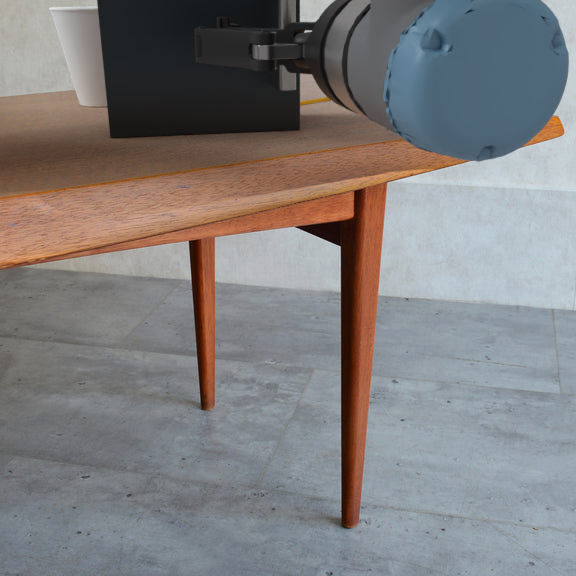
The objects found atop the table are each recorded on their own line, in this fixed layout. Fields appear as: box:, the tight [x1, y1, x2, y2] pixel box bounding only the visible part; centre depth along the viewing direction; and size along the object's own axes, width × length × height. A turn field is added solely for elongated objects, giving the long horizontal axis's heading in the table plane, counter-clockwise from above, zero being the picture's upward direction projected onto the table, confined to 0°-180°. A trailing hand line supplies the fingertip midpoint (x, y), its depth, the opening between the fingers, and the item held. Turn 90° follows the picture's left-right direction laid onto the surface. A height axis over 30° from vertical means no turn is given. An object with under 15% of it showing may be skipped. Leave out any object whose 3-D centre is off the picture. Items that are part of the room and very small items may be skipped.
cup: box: [48, 5, 107, 108], centre depth 99 cm, size 12×12×12 cm
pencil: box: [300, 96, 332, 106], centre depth 100 cm, size 1×13×1 cm, turn 138°
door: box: [96, 0, 301, 139], centre depth 71 cm, size 7×20×20 cm, turn 102°
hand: (303, 37), depth 64 cm, fingers open, 13 cm apart
